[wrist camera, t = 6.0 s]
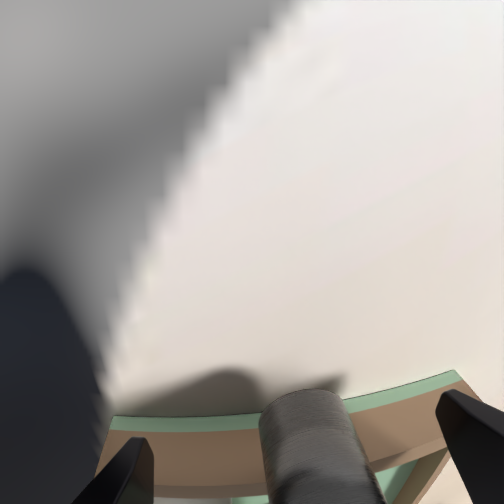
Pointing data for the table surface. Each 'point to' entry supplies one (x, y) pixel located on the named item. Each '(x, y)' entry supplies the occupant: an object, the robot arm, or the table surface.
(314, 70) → the table surface
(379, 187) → the table surface
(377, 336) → the table surface
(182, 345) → the table surface
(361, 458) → the rubber mallet
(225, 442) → the pitch
